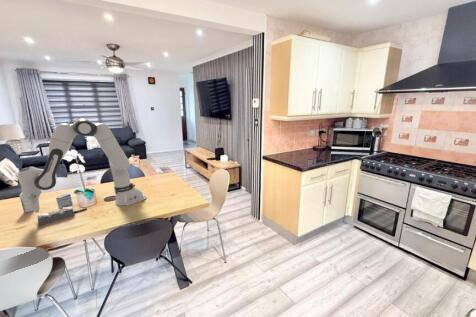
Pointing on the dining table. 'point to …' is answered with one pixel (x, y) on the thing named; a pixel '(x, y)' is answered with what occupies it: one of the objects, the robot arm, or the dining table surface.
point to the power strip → (57, 216)
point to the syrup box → (25, 203)
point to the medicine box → (64, 201)
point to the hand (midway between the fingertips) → (37, 211)
